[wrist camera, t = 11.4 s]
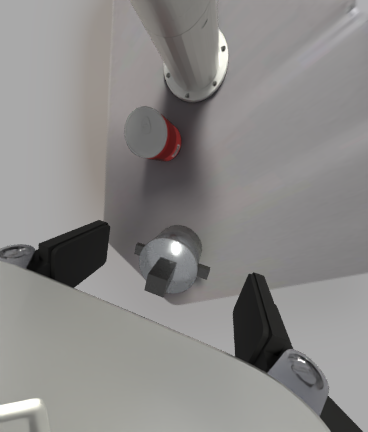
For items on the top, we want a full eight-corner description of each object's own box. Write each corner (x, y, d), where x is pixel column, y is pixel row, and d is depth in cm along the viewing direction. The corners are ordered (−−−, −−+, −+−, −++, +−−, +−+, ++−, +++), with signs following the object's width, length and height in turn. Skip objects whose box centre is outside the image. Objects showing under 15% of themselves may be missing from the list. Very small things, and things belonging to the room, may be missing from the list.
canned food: (179, 119, 37) (161, 99, 26) (184, 158, 38) (170, 153, 28) (147, 128, 39) (118, 112, 28) (154, 164, 40) (129, 161, 30)
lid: (146, 229, 35) (128, 242, 28) (205, 248, 33) (200, 267, 26) (137, 278, 39) (119, 300, 32) (189, 298, 37) (181, 326, 30)
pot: (153, 216, 44) (136, 227, 35) (217, 236, 41) (216, 254, 33) (145, 255, 47) (128, 274, 39) (204, 276, 45) (199, 301, 36)
